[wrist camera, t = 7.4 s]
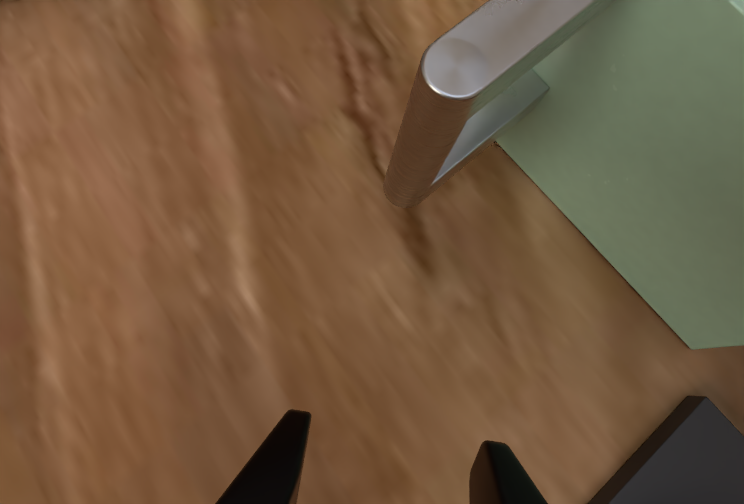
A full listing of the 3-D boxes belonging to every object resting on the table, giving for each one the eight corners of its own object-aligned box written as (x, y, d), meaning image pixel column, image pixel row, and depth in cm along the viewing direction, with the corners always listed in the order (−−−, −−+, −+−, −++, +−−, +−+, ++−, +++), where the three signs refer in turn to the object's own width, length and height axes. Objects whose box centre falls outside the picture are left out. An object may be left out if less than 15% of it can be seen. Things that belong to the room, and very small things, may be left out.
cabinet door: (584, 462, 22) (886, 558, 10) (347, 194, 24) (372, 10, 12) (702, 338, 24) (1082, 295, 12) (473, 95, 26) (604, -155, 14)
